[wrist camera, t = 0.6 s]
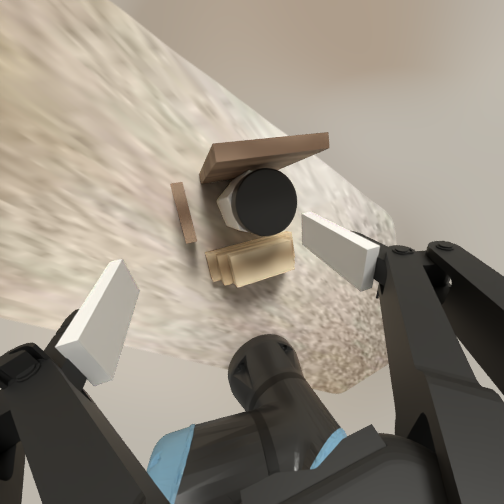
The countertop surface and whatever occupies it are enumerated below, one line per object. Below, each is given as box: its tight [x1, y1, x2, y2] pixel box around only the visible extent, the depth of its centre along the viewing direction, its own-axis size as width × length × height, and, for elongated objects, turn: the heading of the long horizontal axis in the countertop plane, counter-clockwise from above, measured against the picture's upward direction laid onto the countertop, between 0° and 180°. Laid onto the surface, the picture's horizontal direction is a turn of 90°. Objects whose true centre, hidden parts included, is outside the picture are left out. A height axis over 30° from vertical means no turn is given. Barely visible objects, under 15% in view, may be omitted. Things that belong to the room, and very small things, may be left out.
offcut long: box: [205, 231, 295, 282], centre depth 37 cm, size 5×16×2 cm, turn 101°
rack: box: [170, 132, 329, 244], centre depth 27 cm, size 10×16×16 cm, turn 100°
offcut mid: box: [215, 235, 295, 286], centre depth 35 cm, size 5×13×2 cm, turn 102°
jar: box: [217, 168, 297, 236], centre depth 30 cm, size 9×8×12 cm
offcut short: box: [227, 238, 295, 288], centre depth 32 cm, size 5×10×2 cm, turn 101°
